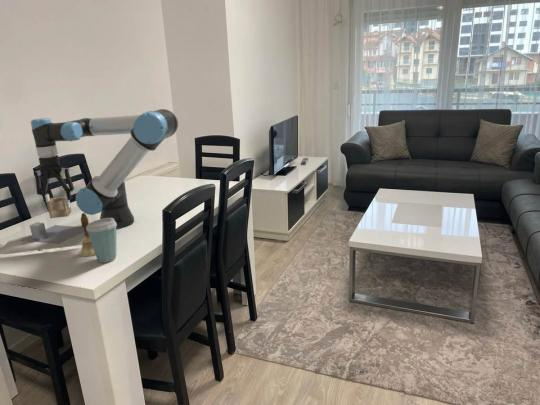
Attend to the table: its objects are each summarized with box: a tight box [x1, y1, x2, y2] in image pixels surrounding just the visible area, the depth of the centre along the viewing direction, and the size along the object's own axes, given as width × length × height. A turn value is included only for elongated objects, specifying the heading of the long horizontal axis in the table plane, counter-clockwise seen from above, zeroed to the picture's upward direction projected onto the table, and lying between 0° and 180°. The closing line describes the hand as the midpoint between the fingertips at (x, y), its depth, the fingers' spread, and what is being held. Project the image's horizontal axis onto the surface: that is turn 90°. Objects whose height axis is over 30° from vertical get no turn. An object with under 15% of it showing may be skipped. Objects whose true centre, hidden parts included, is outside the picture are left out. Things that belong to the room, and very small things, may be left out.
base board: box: [20, 224, 84, 245], centre depth 183 cm, size 20×19×2 cm
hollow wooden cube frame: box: [46, 196, 72, 219], centre depth 183 cm, size 7×7×7 cm
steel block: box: [29, 222, 47, 241], centre depth 178 cm, size 4×4×8 cm
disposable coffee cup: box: [86, 218, 117, 263], centre depth 156 cm, size 11×11×15 cm
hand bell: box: [78, 212, 96, 258], centre depth 163 cm, size 8×8×16 cm
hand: (59, 208), depth 183 cm, fingers closed on hollow wooden cube frame, 7 cm apart
